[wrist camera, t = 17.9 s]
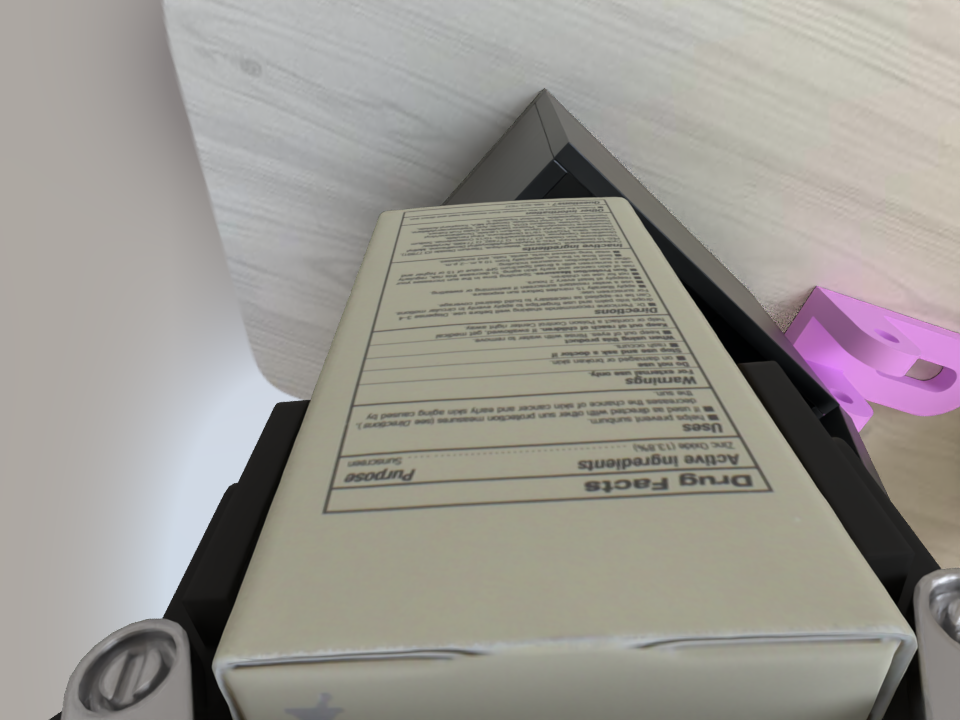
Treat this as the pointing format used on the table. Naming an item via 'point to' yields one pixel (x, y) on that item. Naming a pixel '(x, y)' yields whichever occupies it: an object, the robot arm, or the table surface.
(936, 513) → the table surface
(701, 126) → the table surface
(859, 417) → the bracket
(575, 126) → the black storage bin
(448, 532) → the cosmetic box
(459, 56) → the table surface
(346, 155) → the table surface
